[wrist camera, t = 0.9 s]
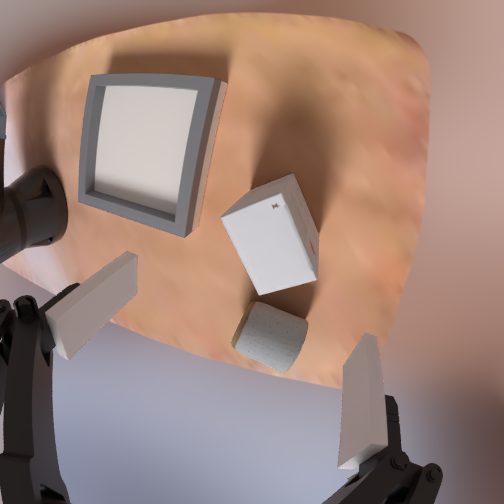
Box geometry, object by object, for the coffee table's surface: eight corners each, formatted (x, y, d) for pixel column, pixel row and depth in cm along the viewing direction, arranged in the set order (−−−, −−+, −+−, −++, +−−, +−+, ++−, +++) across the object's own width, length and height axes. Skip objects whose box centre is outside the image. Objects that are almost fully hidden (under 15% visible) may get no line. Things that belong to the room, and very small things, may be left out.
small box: (249, 189, 31) (216, 215, 22) (294, 171, 29) (281, 189, 20) (276, 250, 34) (257, 298, 24) (320, 236, 32) (318, 281, 22)
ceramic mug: (254, 287, 36) (237, 323, 30) (311, 309, 36) (306, 350, 29) (234, 338, 42) (217, 374, 35) (282, 357, 41) (273, 396, 34)
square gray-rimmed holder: (96, 194, 37) (78, 201, 33) (110, 77, 29) (91, 75, 25) (198, 226, 35) (184, 238, 31) (227, 83, 27) (214, 77, 23)
